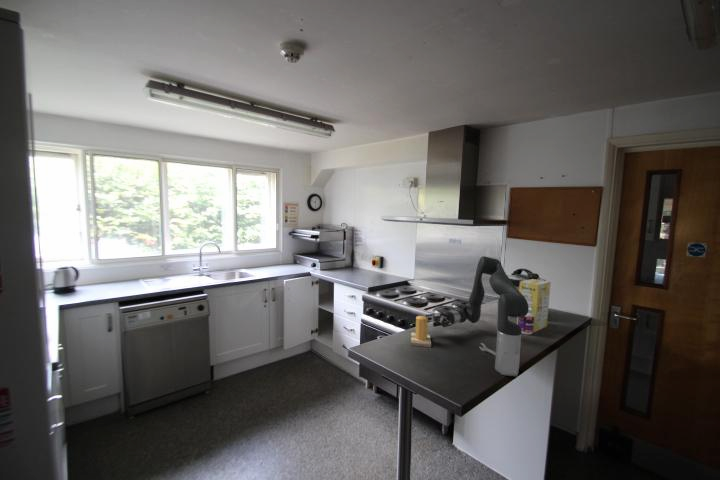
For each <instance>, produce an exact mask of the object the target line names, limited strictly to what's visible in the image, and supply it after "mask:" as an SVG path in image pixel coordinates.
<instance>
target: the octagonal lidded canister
mask: <svg viewBox="0 0 720 480" xmlns="http://www.w3.org/2000/svg"><path fill="white" fill-rule="evenodd" d="M428 322H429V321H428V317H426V315H417V316H416V317H415V332H414V333H415V339H418V340H427V334H428V326H429V324H428Z"/></svg>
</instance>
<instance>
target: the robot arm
mask: <svg viewBox="0 0 720 480" xmlns="http://www.w3.org/2000/svg"><path fill="white" fill-rule="evenodd" d="M475 270H476V271H475V275H474V282H473V287H472V290H471V293H470V295H469V298H468V300H467V301H468V304H469V306H468V305H465V306H463V307H461V308H460V309H456V310H448V311H443V312H441V313H440V314H435V313H432V314H431V313H430V314H429V313H428V314H425V316H426V317H428V322H432V326H433V327H442V328H448V327H451V326H454V325H457V324H461V323H464V322H466V321H468V322H470V323H472V324H476V323H478V322H479V320H480V319H481V313H482V303H483V301H484V298H485V288H484V285H483V277H482V276H483V274H485V275H489V276H490V277H489V284H490V287H491V288H492V291H493V292H494V293H495V294H496V295H498V296H499V297H498V299H497V300H498V301H497V309H498V310H497V330H496V331H497V333H496V345H495V346H496V348H495V352H496V356H495V362H494V363H495V364H494V369H495V371H496V372H497V373H500V375H502V376H509V377H518V375H519V372H520V371H519V369H520V359H521V358H520V355H521V344H522V343H521V342H522V328H521V327H520V326H519V325H518V324H517V323H515V322H513V321H510V320H509V317H512V318H517V317H524V316H526V315H527V313H528V310H529V307H528V303H527V300H526V299H525V297H524V296H523V295H522V294H521V293H520V292H519V291H518V290H517V289H516V287H515V286H514V285H513V283H512V282H511V280H510V279H509V277H508V276H507V273H506V271H505V269H504V267H503V265H502V263H501V261H500V260H498V259H496V258H494V257H489V256H481V257H480V258H479V260H478V263H477V266H476V269H475Z"/></svg>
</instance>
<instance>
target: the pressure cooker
mask: <svg viewBox="0 0 720 480" xmlns="http://www.w3.org/2000/svg"><path fill="white" fill-rule="evenodd" d="M522 272H525V273H526V274H522ZM506 275H507V274H506ZM507 276H508V277H509V279H510V280H511V282H512V283H513V285H514V286H515V287H516V289H517V290H518V291H519V286H520V282H521V281H525V280H530V279H536V280H542V281H547V280H546V279H544V278H541V277H540V275H539V274H538V273H534V272H533V271H532V270H530V269H527V268H518V269H515V270H514V271H513V273H511V274H509V275H507Z"/></svg>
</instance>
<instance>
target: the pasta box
mask: <svg viewBox="0 0 720 480" xmlns="http://www.w3.org/2000/svg"><path fill="white" fill-rule="evenodd" d="M550 291H551V281H547V280H546V281H542V280H536V279H530V280H525V281H521V282H520V286H519V292H520V293H521V294H522V295H523V296H524V297H525V299H526V300H527V303H528V307H529V308H531V309H532V313H533V314H534V326H533V333H537V332H538V331H540V330H542V329H544V328H547V327H548V317H549V316H548V315H549V305H550V293H551V292H550ZM516 324H518V317H516Z"/></svg>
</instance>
